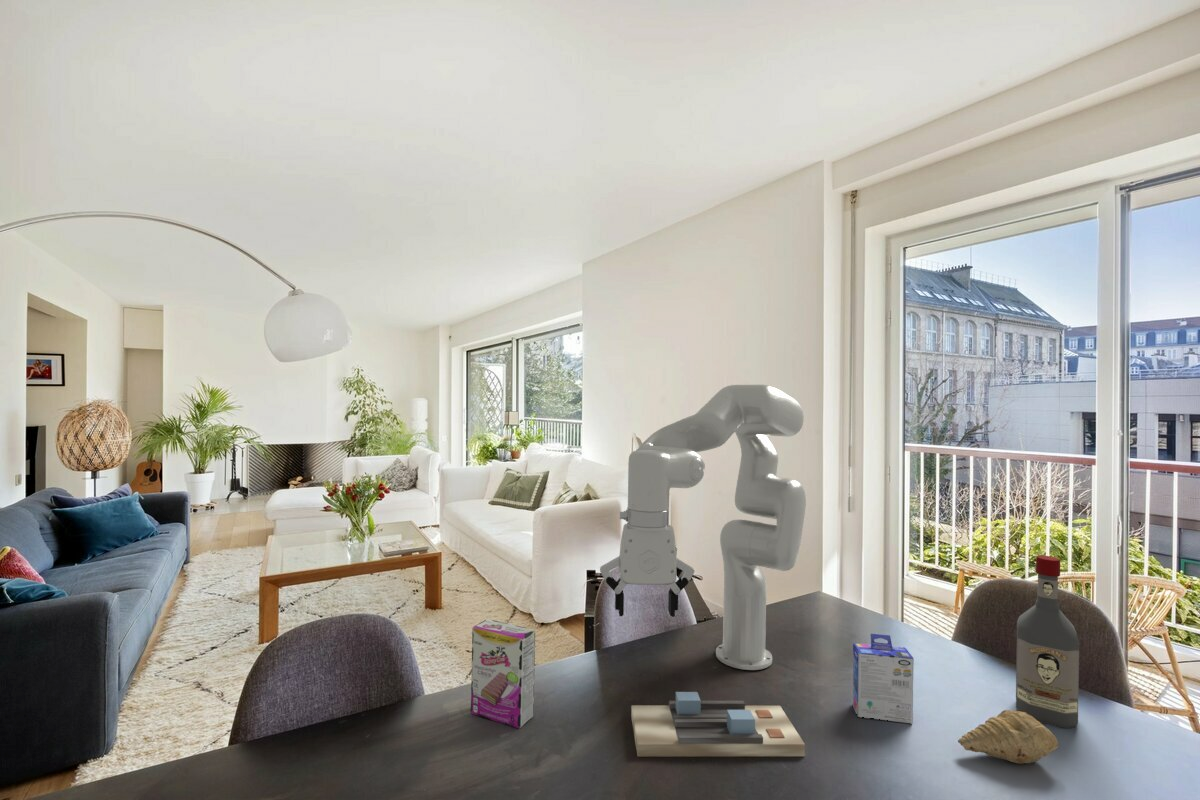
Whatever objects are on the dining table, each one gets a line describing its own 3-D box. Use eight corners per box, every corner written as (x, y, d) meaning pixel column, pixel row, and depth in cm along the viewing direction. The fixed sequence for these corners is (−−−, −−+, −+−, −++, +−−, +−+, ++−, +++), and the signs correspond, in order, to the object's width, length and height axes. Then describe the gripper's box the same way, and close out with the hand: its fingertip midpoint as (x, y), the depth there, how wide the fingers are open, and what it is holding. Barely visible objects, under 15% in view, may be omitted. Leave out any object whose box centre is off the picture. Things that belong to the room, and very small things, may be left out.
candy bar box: (469, 715, 105) (470, 626, 105) (485, 702, 110) (486, 617, 110) (520, 731, 100) (521, 638, 100) (535, 716, 105) (536, 628, 105)
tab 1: (675, 708, 105) (675, 691, 105) (697, 708, 105) (697, 691, 105) (678, 717, 102) (678, 700, 102) (700, 717, 102) (700, 700, 102)
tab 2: (726, 727, 99) (727, 709, 99) (749, 727, 99) (749, 709, 99) (731, 737, 96) (731, 719, 96) (754, 737, 96) (755, 719, 96)
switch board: (631, 716, 106) (631, 700, 106) (779, 716, 107) (780, 700, 107) (637, 756, 94) (637, 738, 94) (804, 756, 95) (805, 738, 95)
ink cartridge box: (905, 709, 110) (906, 634, 110) (915, 725, 105) (916, 646, 105) (850, 703, 112) (852, 629, 112) (857, 718, 107) (858, 641, 107)
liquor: (1015, 696, 116) (1018, 549, 116) (1073, 711, 110) (1076, 557, 110) (1016, 716, 108) (1019, 558, 108) (1078, 733, 103) (1081, 567, 103)
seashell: (980, 777, 90) (981, 726, 90) (946, 745, 98) (947, 699, 98) (1063, 775, 91) (1063, 725, 91) (1023, 745, 99) (1023, 699, 99)
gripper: (600, 522, 99) (598, 621, 99) (699, 523, 99) (698, 622, 99) (599, 513, 106) (597, 606, 106) (691, 515, 107) (689, 606, 107)
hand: (646, 613), depth 103 cm, fingers open, 8 cm apart
